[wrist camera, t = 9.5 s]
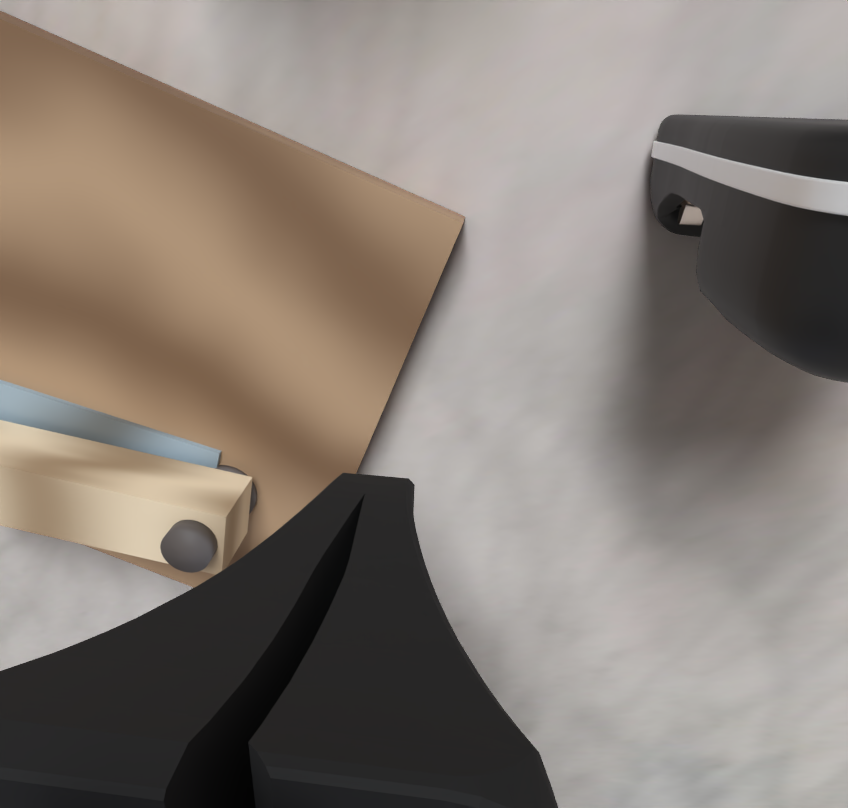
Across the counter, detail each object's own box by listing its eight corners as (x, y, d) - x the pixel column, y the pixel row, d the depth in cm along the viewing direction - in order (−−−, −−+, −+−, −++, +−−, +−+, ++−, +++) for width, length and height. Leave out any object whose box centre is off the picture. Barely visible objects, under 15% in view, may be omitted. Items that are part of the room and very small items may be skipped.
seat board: (299, 603, 27) (289, 630, 25) (-52, 467, 26) (-82, 487, 24) (465, 217, 20) (462, 224, 18) (-15, 4, 18) (-56, -4, 17)
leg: (252, 477, 22) (218, 528, 20) (247, 532, 23) (214, 588, 21) (-56, 407, 22) (-132, 448, 20) (-47, 465, 23) (-118, 512, 21)
